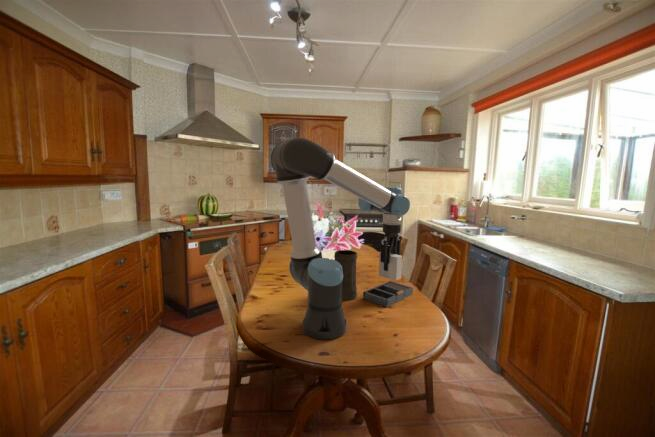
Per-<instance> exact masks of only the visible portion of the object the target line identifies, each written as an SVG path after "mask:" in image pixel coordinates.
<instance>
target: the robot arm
mask: <svg viewBox="0 0 655 437" xmlns="http://www.w3.org/2000/svg"><path fill="white" fill-rule="evenodd" d="M335 156H336V155H335V154H334V153H333V152H331V151H330V150H328V149H326V148H324V147H323V146H322V145H319V144H318V143H316V142H314V141H312V140H310V139H308V138H306V137H305V138H304V137H293V138H290V139H285V140H281V141H280V142H277V144H275V145H274V146H273V147H272V149H271V150H270V153H269V163H270V166H271V168H272V169H273V171H274V172H275V176H276V177H275V178H276V182H277V183H278V184H279V185H281V186H282V190H283V198H284V204H285V208H286V214H287V220H288V227H289V231H290V232H289V233H290V238H291V244H292V248H293V250H292V251H291V252H290V255H289V256H290V261H289V265H288V269H289V274H290V276H291V277H292V279H293V280H294V281H295V282H296V283H297V284H299V285H300V286H301V287H303V288H304V289H305V290H306V291H307V308H306V311H305V315H304V318H303V319H302V331H303V333H304V334H305V335H306V336H308V337H309V338H312V339H315V340H316V339H317V340H326V341H327V340H334V339H337V338H340V337H342V336H343V335H344V334H345V333H347V325H348V324H347V320H346V317H345V314H344V310H343V300H342V286H343V269H342V266H341V264H340V263H339V262H337V261H335V259H334V258H332V259H330V258H327V257H323V254H322V248H320V247H319V246H317V242H316V236H315V229H314V222H313V216H312V210H311V203H310V196H309V190H308V184H307V182H308V180H309V179H310V177H311V178H314V179H316V180H318V181H322V180H324V181H327V182H329V183H330V184H332V185H334V186H336V187H338V188H340V189H342V190H344V191H346V192H348V193H349V194H351V195H353V196H355V197H357V198H358V203H357V204H358V207H359V209H360V210H361V211H363V212H369V213H370V212H377V213H381V214H382V213H383V214H382V223H383V224H382V233H384V236H383V239H380V240H379V243H380V244H379V245H380V253H381V262H383V263H384V277H383V278H386V279H389V278H390V263H389V261H390V254H391V253H392V254H396V255H401V247H402V246H401V244H402V239H403V237H402V236H400V235H399V234H400V233H401V227H402V225H401V222H402V217H403V216H405V215H406V214H407V213H408V212H409V210H410V207H411V201H410V199H409V197H408V196H406V195H403V190H402V188H401V187H397V186H395V187H394V186H386V187H384V186H383V185H381V184H379V183H378V182H376V181H375V180H373V179H371V178H369V177H368V176H366V175H364V174H362V173H361V172H359V171H357V170H355V169H354V168H352V167H350V166H349V165H347V164H346V163H343V162H342V161H340V160H338V159H337V158H335Z"/></svg>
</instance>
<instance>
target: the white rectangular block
mask: <svg viewBox="0 0 655 437" xmlns="http://www.w3.org/2000/svg"><path fill="white" fill-rule="evenodd" d="M389 263H390V278H388V279H389V280H393V281H398V280H401V279H402V270H403V255H401V254H400V255H396V254H392V253H391V254H390V261H389ZM378 277H383V278H385V277H384V263H383V262H381V252H380V253H379V257H378Z"/></svg>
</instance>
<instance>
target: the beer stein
mask: <svg viewBox="0 0 655 437" xmlns="http://www.w3.org/2000/svg"><path fill="white" fill-rule="evenodd" d="M333 257H334V260H335V261H337V262H339V263H340V264H341V266H342V269H343V286H342V301H349V300H350V301H351V300H353V299H356V298H357V297H358V292H357V290H358V288H357V258H358V252H357V251H354V250H348V249H346V250H345V249H342V250H341V249H339V250H336V251H335V252H334V256H333Z"/></svg>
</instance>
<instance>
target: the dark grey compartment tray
mask: <svg viewBox="0 0 655 437" xmlns="http://www.w3.org/2000/svg"><path fill="white" fill-rule="evenodd" d="M413 291H414V288H413V287H411V286H409V285H405V284H401V283H399V282H395V281H392V280H389V281H386V282H384V283H382V284H379V285H377V286H375V287H372V288H370V289H367V290H364V291H363V294H362V299H364V300H366V301H368V302H371V303H374V304H377V305H379V306H382V307H385V308H388V307H390V306H392V305H393V304H396V303H398V302H400V301H401V300H403V299H404V300H405V298H408V297H409V296H411V295H413Z"/></svg>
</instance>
